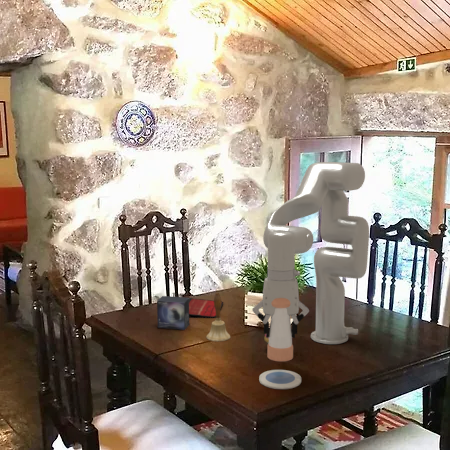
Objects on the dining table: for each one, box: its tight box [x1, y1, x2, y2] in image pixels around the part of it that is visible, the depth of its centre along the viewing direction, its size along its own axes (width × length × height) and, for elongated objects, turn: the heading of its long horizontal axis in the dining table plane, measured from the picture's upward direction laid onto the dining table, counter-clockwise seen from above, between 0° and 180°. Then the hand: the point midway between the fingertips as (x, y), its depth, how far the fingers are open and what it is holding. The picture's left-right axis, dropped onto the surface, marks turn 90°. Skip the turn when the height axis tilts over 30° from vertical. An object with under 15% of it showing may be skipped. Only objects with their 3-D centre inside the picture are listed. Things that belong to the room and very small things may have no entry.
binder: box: [188, 297, 224, 319], centre depth 250 cm, size 16×2×21 cm
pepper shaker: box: [266, 298, 294, 362], centre depth 179 cm, size 7×7×19 cm
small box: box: [156, 295, 191, 331], centre depth 229 cm, size 11×6×10 cm, turn 76°
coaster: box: [258, 369, 302, 390], centre depth 182 cm, size 12×12×1 cm
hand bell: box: [205, 291, 231, 342], centre depth 217 cm, size 8×8×16 cm
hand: (280, 335), depth 180 cm, fingers closed on pepper shaker, 6 cm apart
